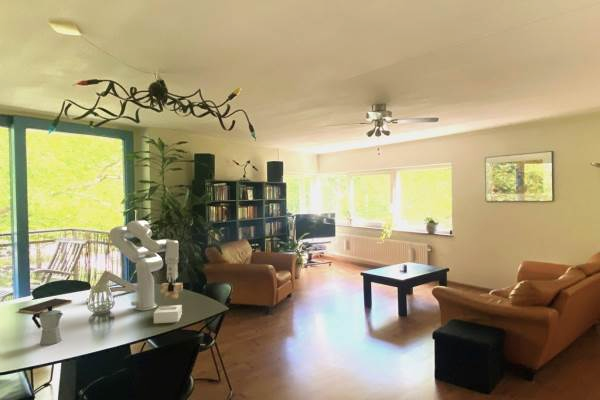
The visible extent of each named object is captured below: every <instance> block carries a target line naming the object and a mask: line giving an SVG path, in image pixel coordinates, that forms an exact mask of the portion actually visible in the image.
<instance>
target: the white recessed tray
mask: <svg viewBox="0 0 600 400" xmlns="http://www.w3.org/2000/svg"><path fill="white" fill-rule="evenodd" d="M155 309H156V310H155V311H154V312H153V324H165V323H166V324H167V323H168V324H169V323H178V322H179V321H180V319H181V317H182V316H181V315H183V305H182V304H175V305H170V304H169V305H159V306H157V307H156V308H155Z"/></svg>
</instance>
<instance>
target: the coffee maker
mask: <svg viewBox="0 0 600 400" xmlns="http://www.w3.org/2000/svg"><path fill="white" fill-rule="evenodd" d="M47 308H48V311H45V312H44V311H41V312H40V313H36V314H34V313H33V315H32V317H31V320H32V321H33V323H34V324H35V326H36V327H37V328H38V329H42V331H41V337H40V343H39V344H40V346H42V347H44V346H49V347H50V346H53V345H56V344H59V343H60V342H61V341H62V337H61V332H60V328H59V325H60V320H61V318H62V316H63V315H64V313H62V311H61V310H56V309H52V308H53V305H50V306H47ZM38 319H39V321H38Z"/></svg>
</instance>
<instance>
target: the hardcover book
mask: <svg viewBox="0 0 600 400" xmlns="http://www.w3.org/2000/svg"><path fill="white" fill-rule="evenodd" d="M72 302H73V300H71V299H64V298H56V297H55V298H53V299H49V300H46V301H42V302H38V303H36V304H31V305H29V306H26V307H22V308H19V309H18V312H20V313H26V314H27V313H28V314H33V315H34V314H36V313H40V312H41V311H44V312H46V311H48V308H47V306H50V305H53V308H52V310H55V309H57V308H60V307H63V306H66V305H67V306H68V305H69V304H73V303H72Z"/></svg>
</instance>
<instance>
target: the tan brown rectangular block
mask: <svg viewBox="0 0 600 400" xmlns="http://www.w3.org/2000/svg"><path fill="white" fill-rule="evenodd" d="M183 284H184V283H183V282H176V283H173V285H174V291H168V282H163V283H161V284H160V293H161V294H162V293H163V294H165V295H164V297H165V298H164V299H165V300H169V299H170V300H171V299H178V298H179V293H182V292H183V289H184V285H183Z"/></svg>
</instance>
